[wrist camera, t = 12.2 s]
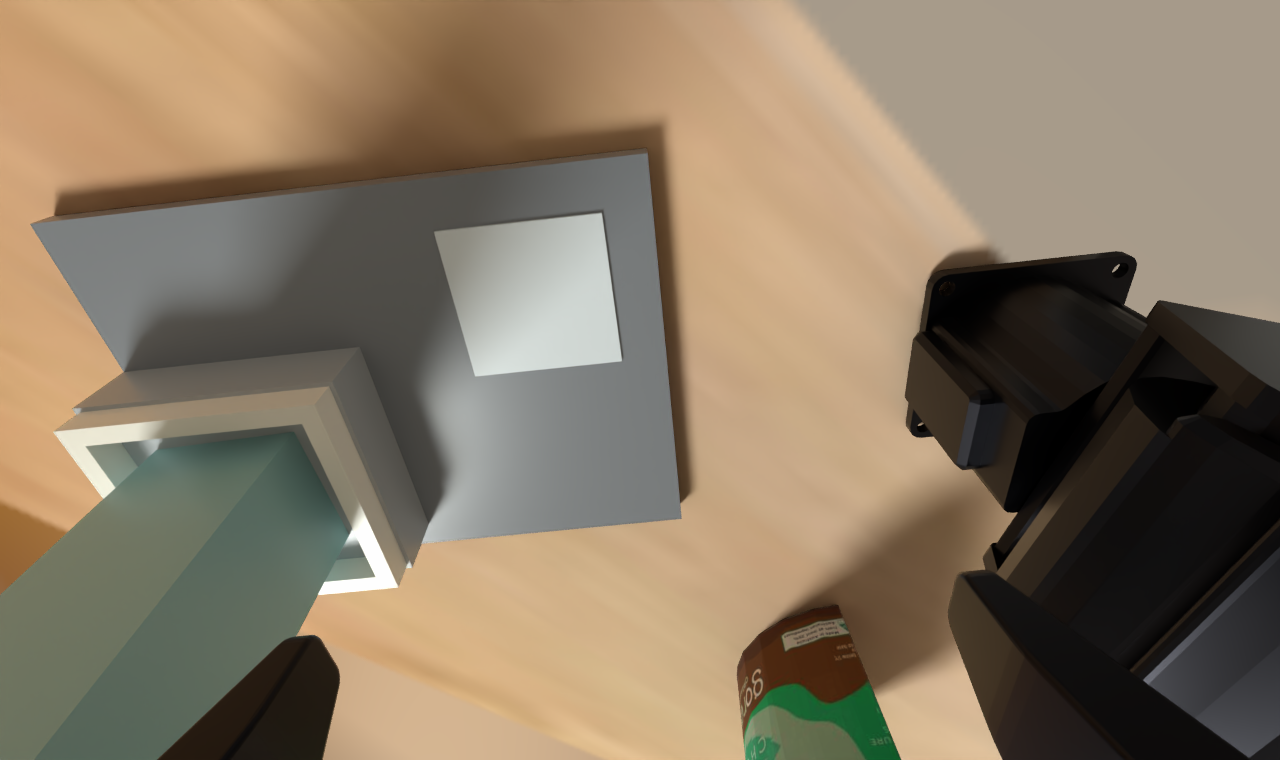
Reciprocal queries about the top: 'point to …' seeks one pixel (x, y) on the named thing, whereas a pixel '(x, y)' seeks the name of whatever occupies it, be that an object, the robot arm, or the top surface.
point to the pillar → (163, 599)
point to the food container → (809, 694)
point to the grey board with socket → (395, 347)
